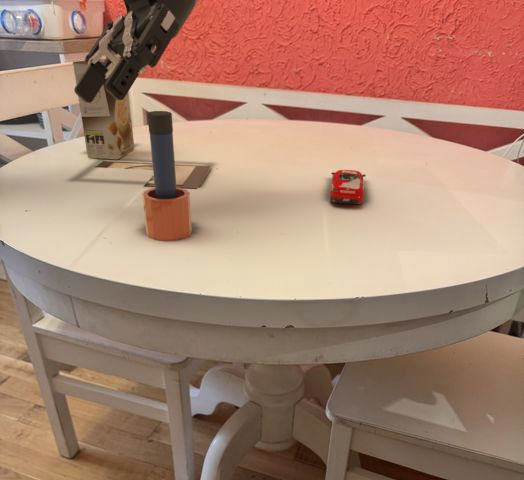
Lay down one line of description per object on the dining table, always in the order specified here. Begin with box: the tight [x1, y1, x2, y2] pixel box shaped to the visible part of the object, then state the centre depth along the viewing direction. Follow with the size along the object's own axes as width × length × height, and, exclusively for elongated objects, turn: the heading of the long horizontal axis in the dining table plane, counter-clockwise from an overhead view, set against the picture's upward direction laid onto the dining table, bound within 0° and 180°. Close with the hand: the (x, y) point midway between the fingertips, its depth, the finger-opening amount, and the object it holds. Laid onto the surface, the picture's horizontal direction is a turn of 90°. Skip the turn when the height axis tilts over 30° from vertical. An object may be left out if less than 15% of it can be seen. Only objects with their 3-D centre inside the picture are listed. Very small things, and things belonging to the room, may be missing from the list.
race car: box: [329, 169, 367, 205], centre depth 79 cm, size 13×5×4 cm, turn 170°
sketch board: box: [95, 160, 212, 190], centre depth 86 cm, size 20×14×1 cm
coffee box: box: [72, 58, 135, 160], centre depth 94 cm, size 9×6×16 cm
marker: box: [147, 110, 177, 199], centre depth 60 cm, size 3×3×14 cm
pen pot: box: [141, 187, 193, 242], centre depth 63 cm, size 6×6×6 cm
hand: (96, 96), depth 57 cm, fingers open, 8 cm apart
